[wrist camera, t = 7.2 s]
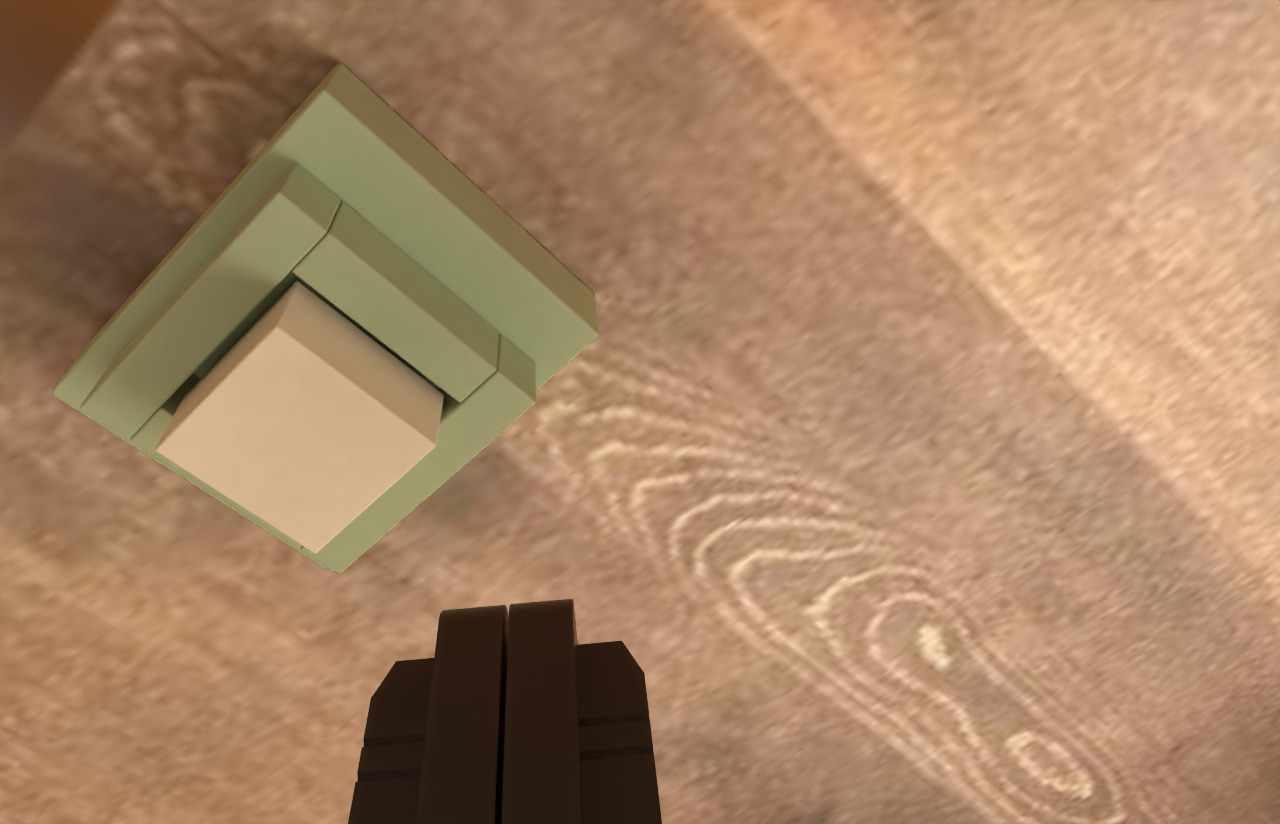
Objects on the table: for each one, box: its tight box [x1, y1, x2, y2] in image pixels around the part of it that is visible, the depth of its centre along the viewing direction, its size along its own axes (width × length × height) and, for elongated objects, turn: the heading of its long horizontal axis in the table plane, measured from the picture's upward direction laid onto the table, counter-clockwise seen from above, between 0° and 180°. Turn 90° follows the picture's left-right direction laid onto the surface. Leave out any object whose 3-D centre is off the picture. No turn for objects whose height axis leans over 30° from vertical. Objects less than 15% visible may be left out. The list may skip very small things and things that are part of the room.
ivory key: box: [155, 281, 444, 553], centre depth 22 cm, size 4×4×2 cm
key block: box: [51, 63, 599, 574], centre depth 24 cm, size 10×8×4 cm
